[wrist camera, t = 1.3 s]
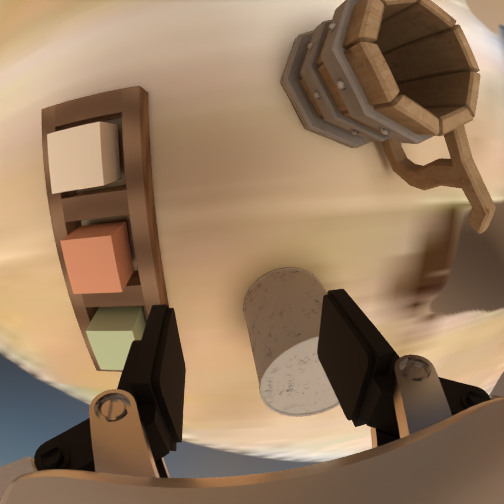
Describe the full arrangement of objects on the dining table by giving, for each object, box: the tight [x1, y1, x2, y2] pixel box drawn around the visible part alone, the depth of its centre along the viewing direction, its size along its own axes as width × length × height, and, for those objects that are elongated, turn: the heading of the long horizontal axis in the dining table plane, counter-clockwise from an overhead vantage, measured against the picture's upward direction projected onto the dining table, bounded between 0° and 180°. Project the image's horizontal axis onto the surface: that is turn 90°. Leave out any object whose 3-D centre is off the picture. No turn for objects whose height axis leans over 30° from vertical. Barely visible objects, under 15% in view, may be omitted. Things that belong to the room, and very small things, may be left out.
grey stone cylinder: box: [243, 268, 340, 417], centre depth 27 cm, size 10×10×12 cm
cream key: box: [47, 121, 121, 194], centre depth 21 cm, size 5×5×4 cm
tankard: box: [281, 0, 496, 234], centre depth 20 cm, size 20×13×15 cm, turn 28°
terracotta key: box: [60, 221, 134, 294], centre depth 24 cm, size 5×5×4 cm
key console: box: [42, 86, 169, 372], centre depth 26 cm, size 29×10×4 cm, turn 2°
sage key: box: [86, 306, 146, 370], centre depth 27 cm, size 5×5×4 cm
